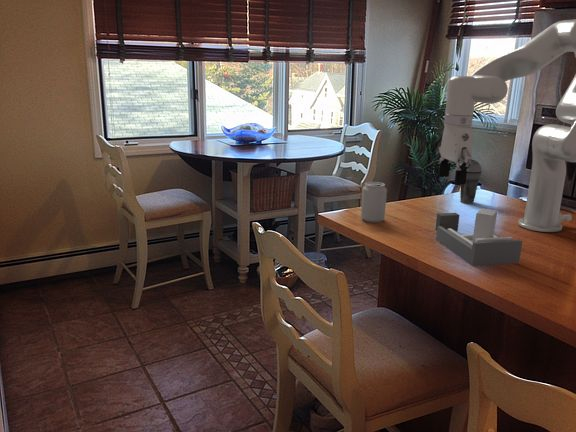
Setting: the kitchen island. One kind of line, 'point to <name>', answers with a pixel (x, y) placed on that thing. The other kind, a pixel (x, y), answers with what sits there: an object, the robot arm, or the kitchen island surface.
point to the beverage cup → (470, 183)
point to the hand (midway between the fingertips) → (451, 180)
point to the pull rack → (451, 224)
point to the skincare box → (485, 224)
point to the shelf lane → (481, 249)
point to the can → (373, 202)
